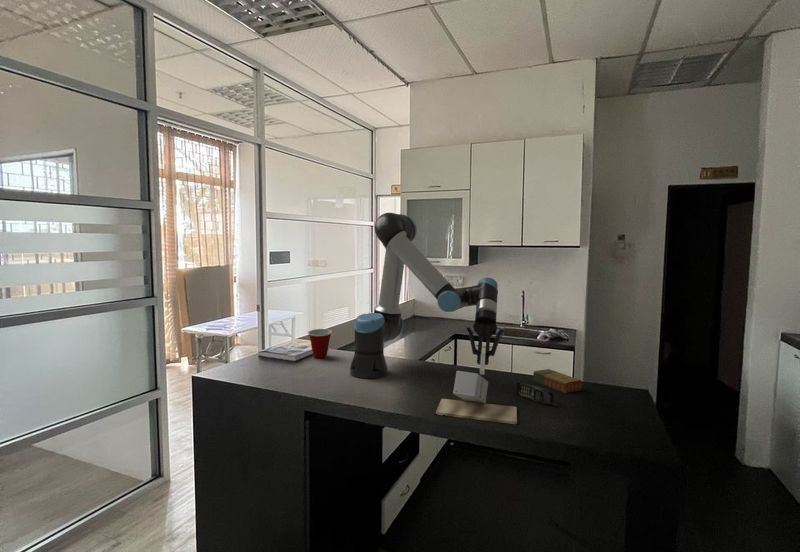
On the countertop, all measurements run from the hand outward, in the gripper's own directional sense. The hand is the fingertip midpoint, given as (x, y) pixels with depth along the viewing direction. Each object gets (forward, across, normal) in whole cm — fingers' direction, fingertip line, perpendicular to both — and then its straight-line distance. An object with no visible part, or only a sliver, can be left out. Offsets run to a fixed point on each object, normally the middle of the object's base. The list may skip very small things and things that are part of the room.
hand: (482, 372), depth 139 cm
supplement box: (+4, +1, -5) cm, 7 cm away
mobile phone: (+2, -18, -13) cm, 22 cm away
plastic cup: (-18, +74, -33) cm, 83 cm away
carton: (-11, -26, -27) cm, 39 cm away
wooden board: (+13, +1, -1) cm, 13 cm away
